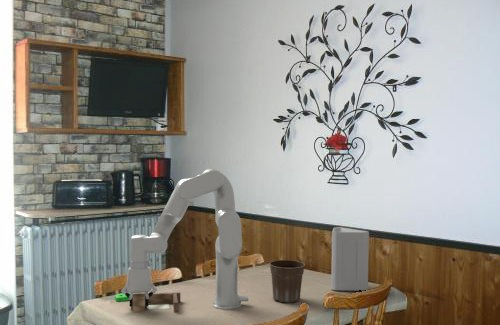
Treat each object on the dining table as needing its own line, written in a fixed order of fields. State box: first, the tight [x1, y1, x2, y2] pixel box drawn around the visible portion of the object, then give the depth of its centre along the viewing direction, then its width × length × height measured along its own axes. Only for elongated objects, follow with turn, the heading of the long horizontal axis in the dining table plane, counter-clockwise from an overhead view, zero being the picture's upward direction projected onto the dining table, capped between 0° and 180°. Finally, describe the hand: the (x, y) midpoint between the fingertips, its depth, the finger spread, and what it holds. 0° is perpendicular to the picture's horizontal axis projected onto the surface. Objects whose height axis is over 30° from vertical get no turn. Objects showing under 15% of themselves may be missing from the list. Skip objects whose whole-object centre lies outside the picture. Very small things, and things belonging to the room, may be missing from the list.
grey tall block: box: [330, 226, 370, 291], centre depth 267 cm, size 19×15×28 cm
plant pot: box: [268, 259, 306, 304], centre depth 245 cm, size 16×16×16 cm
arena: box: [145, 291, 181, 313], centre depth 231 cm, size 16×16×4 cm
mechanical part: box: [114, 292, 133, 302], centre depth 243 cm, size 12×6×8 cm, turn 114°
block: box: [132, 292, 146, 313], centre depth 228 cm, size 5×8×6 cm, turn 10°
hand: (139, 307), depth 228 cm, fingers closed on block, 5 cm apart
